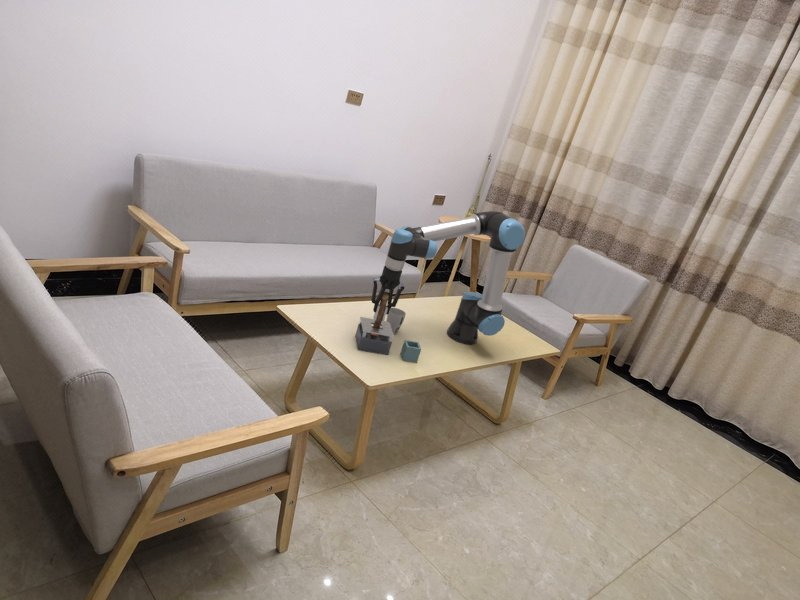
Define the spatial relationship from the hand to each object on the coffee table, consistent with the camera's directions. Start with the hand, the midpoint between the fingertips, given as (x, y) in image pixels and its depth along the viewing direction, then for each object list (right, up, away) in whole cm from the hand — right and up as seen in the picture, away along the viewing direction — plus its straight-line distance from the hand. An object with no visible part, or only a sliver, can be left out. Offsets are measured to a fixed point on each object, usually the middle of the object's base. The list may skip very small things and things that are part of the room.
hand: (378, 319), depth 225 cm
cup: (+5, -6, +23) cm, 25 cm away
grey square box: (-3, -11, +4) cm, 12 cm away
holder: (+12, -16, +3) cm, 21 cm away
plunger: (-3, -9, +3) cm, 10 cm away
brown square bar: (-2, -5, +2) cm, 6 cm away
